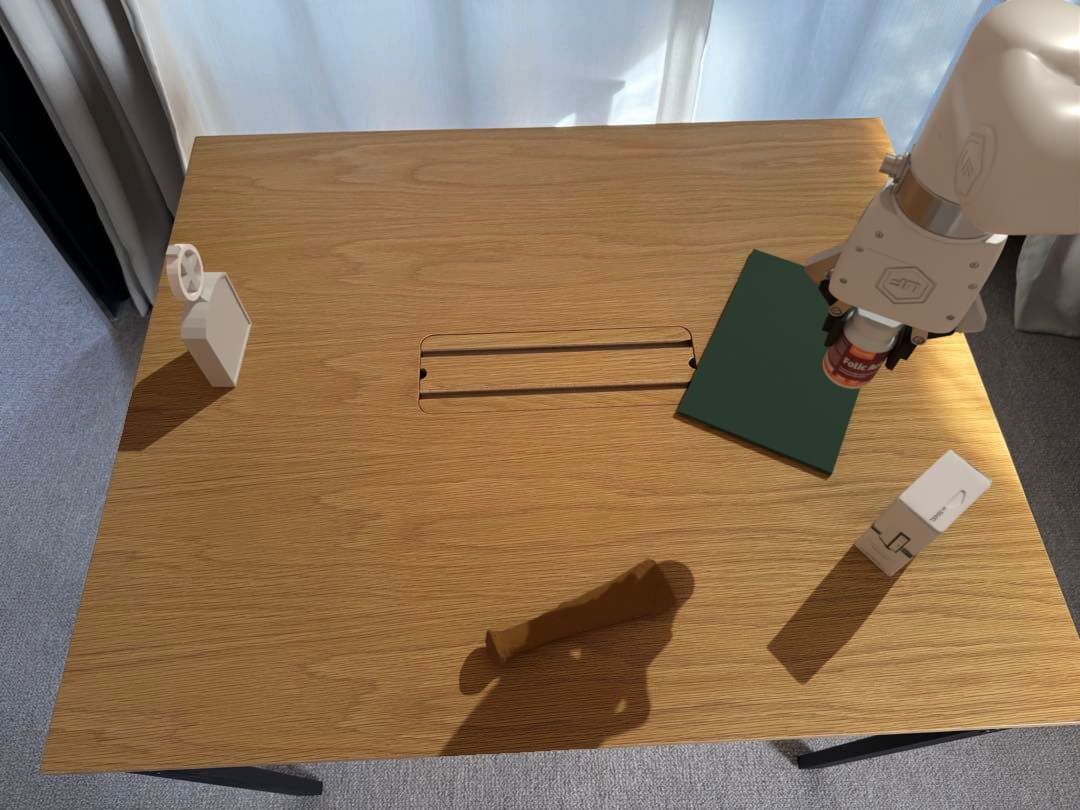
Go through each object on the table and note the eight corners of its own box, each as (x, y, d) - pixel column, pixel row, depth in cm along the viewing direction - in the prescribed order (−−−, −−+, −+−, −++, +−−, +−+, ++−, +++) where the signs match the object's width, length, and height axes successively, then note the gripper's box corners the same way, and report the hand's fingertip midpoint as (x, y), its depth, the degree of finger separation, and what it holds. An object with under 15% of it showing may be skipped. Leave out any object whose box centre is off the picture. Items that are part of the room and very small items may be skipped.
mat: (888, 298, 97) (890, 295, 97) (830, 475, 84) (832, 473, 84) (752, 251, 102) (753, 248, 101) (676, 413, 88) (677, 410, 88)
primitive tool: (652, 558, 79) (657, 546, 76) (680, 606, 76) (685, 595, 73) (480, 638, 75) (478, 629, 72) (503, 692, 72) (501, 684, 69)
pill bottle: (828, 391, 70) (860, 335, 63) (816, 349, 73) (846, 291, 66) (879, 389, 71) (917, 334, 63) (866, 348, 73) (901, 290, 66)
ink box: (901, 496, 83) (951, 443, 73) (940, 529, 81) (997, 480, 71) (850, 544, 80) (895, 496, 70) (889, 580, 78) (941, 535, 68)
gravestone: (252, 323, 95) (197, 216, 80) (235, 386, 90) (174, 285, 75) (229, 323, 95) (171, 216, 80) (212, 386, 90) (146, 285, 75)
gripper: (819, 186, 53) (756, 343, 69) (1078, 268, 50) (949, 414, 65) (847, 123, 57) (781, 285, 73) (1090, 194, 53) (965, 350, 69)
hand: (861, 345), depth 69 cm, fingers closed on pill bottle, 4 cm apart
